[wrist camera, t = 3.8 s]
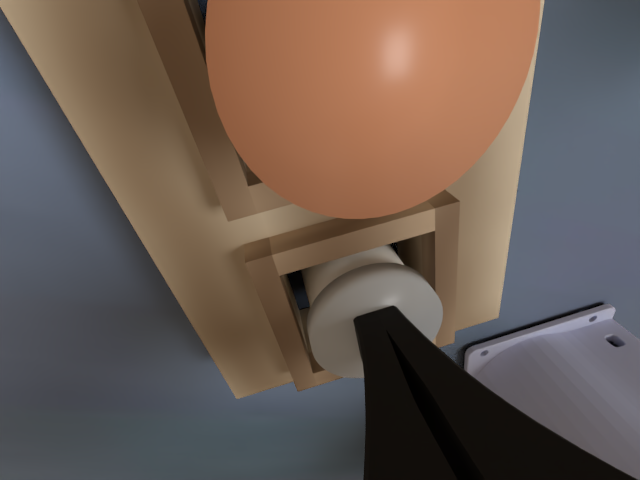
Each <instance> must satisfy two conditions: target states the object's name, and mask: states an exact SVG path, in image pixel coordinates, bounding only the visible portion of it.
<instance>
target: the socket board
mask: <svg viewBox="0 0 640 480" xmlns="http://www.w3.org/2000/svg"><path fill="white" fill-rule="evenodd" d="M0 7H1V9H2V11H3V12H4V14H5V16H6V17H7V19H8V21H9V22H10V24H11V25H12V27H13V29H14V30H15V32H16V34H17V35H18V37H19V39H20V40H21V42H22V44H23V45H24V47H25V49H26V50H27V52H28V54H29V55H30V57H31V59H32V60H33V62H34V64H35V65H36V67H37V69H38V70H39V72H40V74H41V75H42V77H43V79H44V80H45V82H46V84H47V85H48V87H49V88H50V90H51V92H52V93H53V95H54V97H55V98H56V100H57V102H58V103H59V105H60V107H61V108H62V110H63V112H64V113H65V115H66V117H67V118H68V120H69V122H70V123H71V125H72V127H73V128H74V130H75V132H76V133H77V135H78V137H79V138H80V140H81V142H82V143H83V145H84V147H85V148H86V150H87V151H88V153H89V155H90V156H91V158H92V160H93V161H94V163H95V165H96V166H97V168H98V170H99V171H100V173H101V175H102V176H103V178H104V180H105V181H106V183H107V185H108V186H109V188H110V190H111V191H112V193H113V195H114V196H115V198H116V200H117V201H118V203H119V205H120V206H121V208H122V210H123V211H124V213H125V214H126V216H127V218H128V219H129V221H130V223H131V224H132V226H133V228H134V229H135V231H136V233H137V234H138V236H139V238H140V239H141V241H142V243H143V244H144V246H145V248H146V249H147V251H148V253H149V254H150V256H151V258H152V259H153V261H154V263H155V264H156V266H157V268H158V269H159V271H160V272H161V274H162V276H163V277H164V279H165V281H166V282H167V284H168V286H169V287H170V289H171V291H172V292H173V294H174V296H175V297H176V299H177V301H178V302H179V304H180V306H181V307H182V309H183V311H184V312H185V314H186V316H187V317H188V319H189V321H190V322H191V324H192V326H193V327H194V329H195V331H196V332H197V334H198V335H199V337H200V339H201V340H202V342H203V344H204V345H205V347H206V349H207V350H208V352H209V354H210V355H211V357H212V359H213V360H214V362H215V364H216V365H217V367H218V369H219V370H220V372H221V374H222V375H223V377H224V379H225V380H226V382H227V384H228V385H229V387H230V389H231V390H232V392H233V394H234V395H235V397H236V398H237V399H239V398H242V397H245V396H248V395H252V394H255V393H258V392H261V391H265V390H268V389H271V388H274V387H277V386H281V385H284V384H287V383H290V382H293V381H294V384H295V386H296V388H297V391H302V390H305V389H308V388H311V387H314V386H318V385H321V384H324V383H327V382H330V381H334V380H337V379H340V378H343V377H342V376H338V375H335V374H332V373H330V372H328V371H327V370H325V369H324V368H322V367H321V366H320V365H319V364H318V362H317V361H316V360H315V358H314V356H313V353H312V349H311V345H310V340H309V336H308V332H307V316H308V313H309V310H310V307H308V308H305V309H302V310H299V308H298V305H297V302H296V299H295V296H294V293H293V290H292V287H291V284H290V281H289V278H288V275H287V273H291V272H294V271H298V270H301V269H305V268H308V267H311V266H315V265H318V264H322V263H325V262H329V261H332V260H336V259H339V258H343V257H346V256H349V255H353V254H356V253H360V252H363V251H367V250H370V249H374V248H377V247H380V246H384V245H387V244H391V243H394V242H397V249H398V257H399V258H400V260H401V261H402V262H403V264H404V265H406V266H408V267H411V268H413V269H414V270H416V271H418V272H419V273H420V274H421V275H422V276H423V277H424V278H425V279H426V281H427V282H428V283H429V285H430V286H431V287H432V289H433V290H434V291H435V293H436V294H437V295H438V297H439V299H440V301H441V304H442V307H443V319H442V323H441V327H440V329H439V331H438V333H437V335H436V337H435V338H434V340H433V341H432V343H433V344H435V345H436V346H437V347H438V348H439V347H442V346H445V345H448V344H452V343H454V338H455V331H457V330H461V329H464V328H467V327H470V326H473V325H477V324H480V323H483V322H486V321H489V320H493V319H496V318H498V317H499V310H500V303H501V297H502V290H503V283H504V276H505V269H506V262H507V255H508V248H509V241H510V235H511V228H512V221H513V214H514V207H515V200H516V193H517V186H518V179H519V172H520V166H521V159H522V152H523V145H524V138H525V131H526V124H527V117H528V110H529V104H530V97H531V90H532V83H533V76H534V69H535V62H536V55H537V48H538V42H539V35H540V28H541V21H542V14H543V7H544V0H540V16H539V27H538V34H537V39H536V44H535V49H534V54H533V58H532V61H531V65H530V68H529V71H528V75H527V78H526V80H525V83H524V86H523V88H522V91H521V93H520V96H519V98H518V100H517V102H516V104H515V106H514V108H513V110H512V112H511V114H510V116H509V118H508V120H507V121H506V123H505V124H504V126H503V128H502V129H501V131H500V132H499V134H498V136H497V137H496V138H495V140H494V141H493V142H492V144H491V145H490V146H489V148H488V149H487V150H486V152H485V153H484V154H483V155H482V156H481V157H480V158H479V159H478V161H477V162H476V163H475V164H474V165H473V166H472V167H471V168H470V169H469V170H468V171H467V172H466V173H464V174H463V175H462V176H461V177H460V178H459V179H458V180H457V181H455V182H454V183H453V184H451V185H450V186H449V187H447V188H446V189H445V190H443V191H442V192H440V193H439V194H437V195H435V196H434V197H432V198H430V199H429V200H427V201H425V202H423V203H420V204H418V205H416V206H414V207H412V208H409V209H406V210H404V211H401V212H398V213H395V214H390V215H386V216H382V217H376V218H366V219H344V218H336V217H329V216H325V215H322V214H318V213H314V212H311V211H309V210H306V209H304V208H301V207H299V206H297V205H295V204H293V203H291V202H290V201H288V200H286V199H284V198H283V197H281V196H279V195H278V194H277V193H276V192H274V191H273V190H272V189H270V188H269V187H268V186H267V185H265V184H264V183H263V182H262V181H261V180H260V179H259V178H258V177H257V176H256V175H255V174H254V173H253V172H252V171H251V170H250V168H249V167H248V166H247V164H246V163H245V162H244V160H243V159H242V158H241V157H240V155H239V154H238V152H237V151H236V149H235V147H234V145H233V144H232V142H231V140H230V139H229V137H228V135H227V133H226V131H225V129H224V126H223V124H222V122H221V119H220V117H219V114H218V112H217V109H216V105H215V102H214V98H213V95H212V91H211V88H210V82H209V76H208V69H207V63H206V45H205V22H204V19H203V16H202V13H201V10H200V7H199V4H198V1H197V0H0Z"/></svg>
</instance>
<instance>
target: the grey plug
mask: <svg viewBox="0 0 640 480" xmlns="http://www.w3.org/2000/svg"><path fill="white" fill-rule="evenodd" d="M301 274H302V278H303V282H304V285H305V289H306V293H307V297H308V301H309V304H310V310H309V313H308V316H307V332H308V336H309V340H310V345H311V349H312V353H313V356H314V358H315V360H316V361H317V362H318V364H319V365H320V366H321V367H322V368H324V369H325V370H327V371H328V372H330V373H332V374H335V375H338V376H342V377H347V378H364V371H363V362H362V359H361V356H360V351H359V346H358V341H357V337H356V332H355V327H354V322H353V320H354V318H355V317H356V316H360V315H363V314H366V313H370V312H373V311H376V310H380V309H383V308H386V307H389V306H393V305H394V306H396V307H397V308H398V309H399V310H400V311H401V312H402V313H403V314H404V315H405V316H406V318H407V319H408V320H409V321H410V322H411V323H412V324H413V325H414V326H415V327H416V328H417V329H418V330H420V331H421V332H422V333H423V334H424V335H425V336H426V337H427V338H428V339H429V340H430V341H431V342H432V341H433V340H434V338H435V337H436V335H437V333H438V331H439V329H440V327H441V323H442V319H443V307H442V304H441V301H440V299H439V297H438V295H437V294H436V293H435V291H434V290H433V289H432V287H431V286H430V285H429V283H428V282H427V281H426V279H425V278H424V277H423V276H422V275H421V274H420V273H419V272H418V271H416V270H414V269H413V268H411V267H408V266H406V265H404V264H403V262H402V261H401V260H400V258H399V257H398V255H397V254H396V252H395V251H394V250H393V248H392V247H391V245H390V244H387V245H384V246H380V247H377V248H374V249H370V250H367V251H363V252H360V253H356V254H353V255H349V256H346V257H343V258H339V259H336V260H332V261H329V262H325V263H322V264H318V265H315V266H311V267H308V268H305V269H301Z"/></svg>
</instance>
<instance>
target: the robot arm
mask: <svg viewBox="0 0 640 480" xmlns="http://www.w3.org/2000/svg"><path fill="white" fill-rule="evenodd" d="M614 313H615V308H614V307H612V306H611V305H610V304H604V305H601V306H598V307H595V308H591V309H588V310H585V311H582V312H579V313H575V314H572V315H569V316H566V317H563V318H560V319H556V320H553V321H550V322H547V323H544V324H541V325H537V326H534V327H531V328H528V329H525V330H522V331H518V332H515V333H512V334H509V335H506V336H503V337H499V338H496V339H493V340H490V341H487V342H484V343H480V344H477V345H474V346H471V347H470V348H468V349H467V350H466V352H465V361H464V369H463V368H461V367H460V366H459V365H458V364H457V363H455V362H454V361H453V360H452V359H451V358H449V357H448V356H447V355H446V354H445V353H444V352H443V351H441V350H440V349H439V348H438V347H437V346H436V345H435V344H433V343H432V342H431V341H430V340H429V339H428V338H427V337H426V336H425V335H424V334H423V333H422V332H421V331H420V330H418V329H417V328H416V327H415V326H414V325H413V324H412V323H411V322H410V321H409V320H408V319H407V318H406V316H405V315H404V314H403V313H402V312H401V311H400V310H399V309H398V308H397V307H396V306H394V305H393V306H389V307H386V308H383V309H380V310H376V311H373V312H370V313H366V314H363V315H360V316H356V317H355V318H354V320H353V322H354V327H355V332H356V337H357V341H358V346H359V351H360V356H361V359H362V362H363V371H364V382H365V408H366V435H365V462H364V480H640V340H639V339H638V338H637V337H635V336H634V335H633V334H631V333H630V332H629V331H628V330H626V329H625V328H624V327H622V326H621V325H620V324H619V323H617V322H616V321H615V320H613V319H612V318H613V315H614Z"/></svg>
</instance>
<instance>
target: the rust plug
mask: <svg viewBox="0 0 640 480" xmlns="http://www.w3.org/2000/svg"><path fill="white" fill-rule="evenodd" d="M539 16H540V0H208V2H207V13H206V26H205V45H206V63H207V69H208V76H209V82H210V88H211V91H212V95H213V98H214V102H215V105H216V109H217V112H218V114H219V117H220V119H221V122H222V124H223V126H224V129H225V131H226V133H227V135H228V137H229V139H230V140H231V142H232V144H233V145H234V147H235V149H236V151H237V152H238V154H239V155H240V157H241V158H242V159H243V160H244V162H245V163H246V164H247V166H248V167H249V168H250V170H251V171H252V172H253V173H254V174H255V175H256V176H257V177H258V178H259V179H260V180H261V181H262V182H263V183H264V184H265V185H267V186H268V187H269V188H270V189H272V190H273V191H274V192H276V193H277V194H278V195H279V196H281V197H283V198H284V199H286V200H288V201H290V202H291V203H293V204H295V205H297V206H299V207H301V208H304V209H306V210H309V211H311V212H314V213H318V214H322V215H325V216H329V217H336V218H344V219H366V218H376V217H382V216H386V215H390V214H395V213H398V212H401V211H404V210H406V209H409V208H412V207H414V206H416V205H418V204H420V203H423V202H425V201H427V200H429V199H430V198H432V197H434V196H435V195H437V194H439V193H440V192H442V191H443V190H445V189H446V188H447V187H449V186H450V185H451V184H453V183H454V182H455V181H457V180H458V179H459V178H460V177H461V176H462V175H463V174H464V173H466V172H467V171H468V170H469V169H470V168H471V167H472V166H473V165H474V164H475V163H476V162H477V161H478V159H479V158H480V157H481V156H482V155H483V154H484V153H485V152H486V150H487V149H488V148H489V146H490V145H491V144H492V142H493V141H494V140H495V138H496V137H497V136H498V134H499V132H500V131H501V129H502V128H503V126H504V124H505V123H506V121H507V120H508V118H509V116H510V114H511V112H512V110H513V108H514V106H515V104H516V102H517V100H518V98H519V96H520V93H521V91H522V88H523V86H524V83H525V80H526V78H527V75H528V71H529V68H530V65H531V61H532V58H533V54H534V49H535V44H536V39H537V34H538V27H539Z"/></svg>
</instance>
